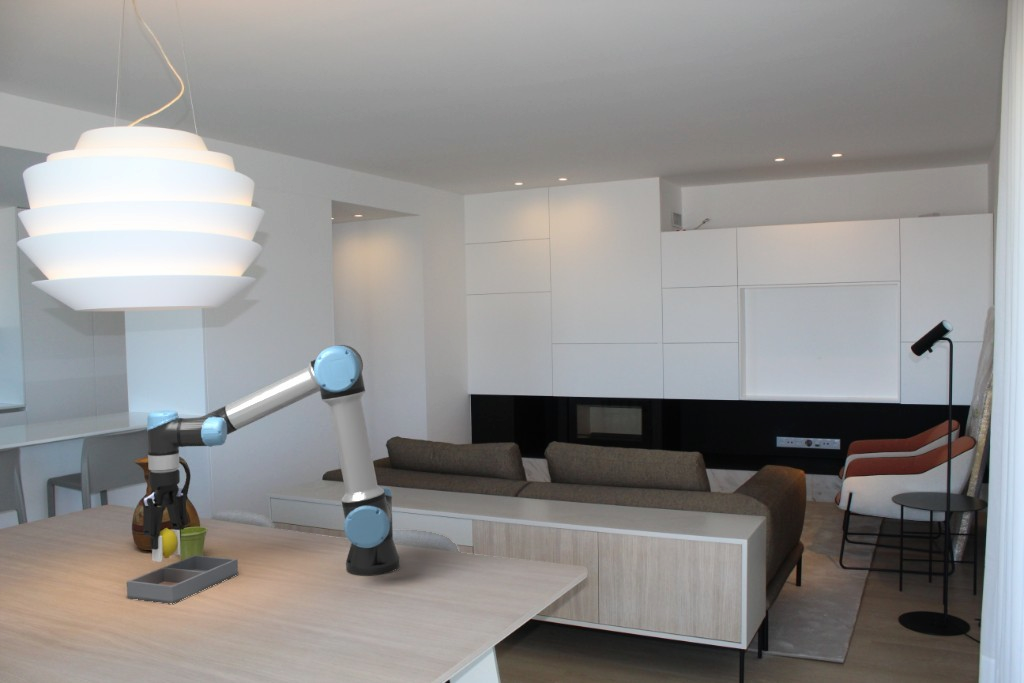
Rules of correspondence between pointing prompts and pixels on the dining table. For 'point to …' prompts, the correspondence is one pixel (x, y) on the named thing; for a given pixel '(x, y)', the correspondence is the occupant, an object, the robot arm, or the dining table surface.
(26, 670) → the dining table surface
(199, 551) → the plant pot
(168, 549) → the lemon
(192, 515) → the ceramic pitcher
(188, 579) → the sorting tray
